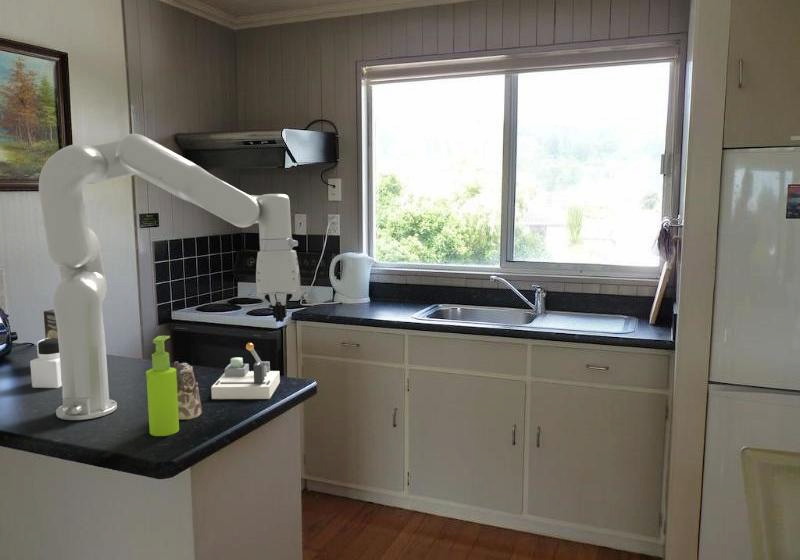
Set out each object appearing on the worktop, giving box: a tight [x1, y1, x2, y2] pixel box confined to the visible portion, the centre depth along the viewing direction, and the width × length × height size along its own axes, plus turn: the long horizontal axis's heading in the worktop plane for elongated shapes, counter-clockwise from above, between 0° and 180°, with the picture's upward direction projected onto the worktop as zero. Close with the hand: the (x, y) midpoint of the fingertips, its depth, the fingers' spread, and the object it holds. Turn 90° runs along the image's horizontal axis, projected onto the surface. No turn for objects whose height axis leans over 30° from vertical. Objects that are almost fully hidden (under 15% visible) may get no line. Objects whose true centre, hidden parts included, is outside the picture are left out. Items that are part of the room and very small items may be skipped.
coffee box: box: [43, 309, 58, 339], centre depth 193 cm, size 9×6×16 cm
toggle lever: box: [245, 342, 268, 370], centre depth 173 cm, size 3×2×9 cm, turn 0°
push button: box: [230, 356, 244, 368], centre depth 173 cm, size 3×3×2 cm
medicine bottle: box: [29, 338, 62, 389], centre depth 174 cm, size 7×7×12 cm
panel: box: [210, 361, 281, 400], centre depth 169 cm, size 14×14×6 cm
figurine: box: [173, 360, 203, 420], centre depth 151 cm, size 7×7×12 cm
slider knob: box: [253, 361, 265, 383], centre depth 165 cm, size 3×2×4 cm
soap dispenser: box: [145, 335, 180, 437], centre depth 140 cm, size 6×7×20 cm
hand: (280, 320), depth 163 cm, fingers closed
